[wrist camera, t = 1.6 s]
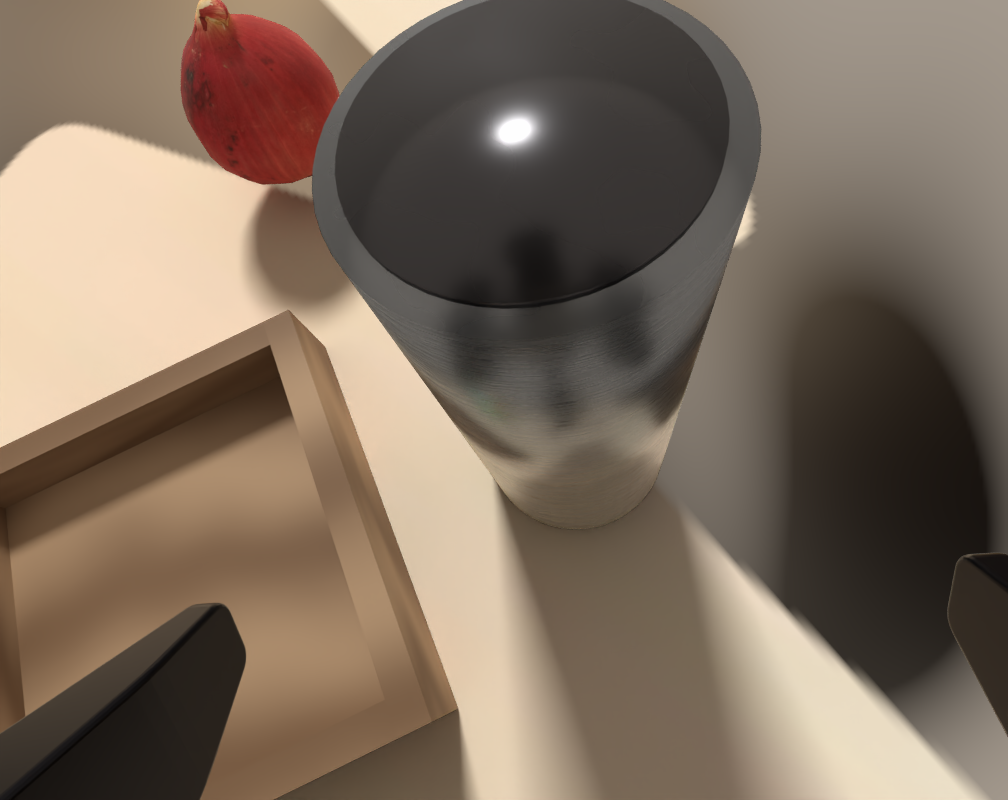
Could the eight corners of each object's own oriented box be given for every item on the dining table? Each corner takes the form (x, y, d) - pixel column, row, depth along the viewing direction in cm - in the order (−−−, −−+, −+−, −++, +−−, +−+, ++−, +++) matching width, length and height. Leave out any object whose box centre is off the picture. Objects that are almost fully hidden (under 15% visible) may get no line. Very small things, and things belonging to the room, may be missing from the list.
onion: (281, 247, 26) (153, 96, 19) (228, 170, 28) (95, 7, 21) (391, 173, 27) (310, -3, 19) (331, 102, 29) (236, -79, 22)
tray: (458, 708, 19) (432, 721, 16) (42, 912, 18) (-58, 962, 16) (325, 347, 24) (288, 309, 21) (3, 501, 24) (-76, 483, 21)
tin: (697, 480, 20) (871, 188, 7) (533, 560, 20) (392, 419, 7) (611, 337, 22) (617, -85, 9) (464, 408, 22) (259, 83, 9)
